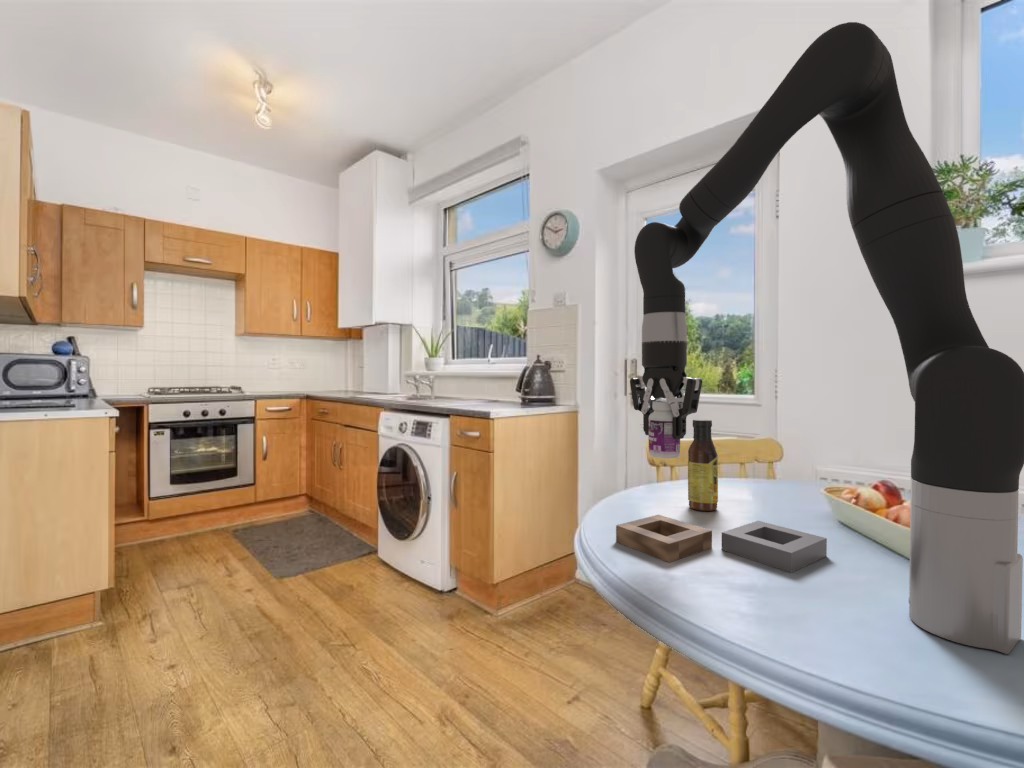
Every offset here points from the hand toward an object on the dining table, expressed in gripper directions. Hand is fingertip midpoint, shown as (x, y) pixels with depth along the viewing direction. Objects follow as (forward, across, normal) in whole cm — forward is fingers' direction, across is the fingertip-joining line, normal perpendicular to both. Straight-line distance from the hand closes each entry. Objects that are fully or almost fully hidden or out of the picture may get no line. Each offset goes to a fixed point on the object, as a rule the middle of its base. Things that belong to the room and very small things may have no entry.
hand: (663, 436), depth 85 cm
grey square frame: (+19, -13, -12) cm, 26 cm away
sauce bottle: (+19, +10, -26) cm, 34 cm away
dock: (+19, 0, 0) cm, 19 cm away
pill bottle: (+4, 0, 0) cm, 4 cm away
